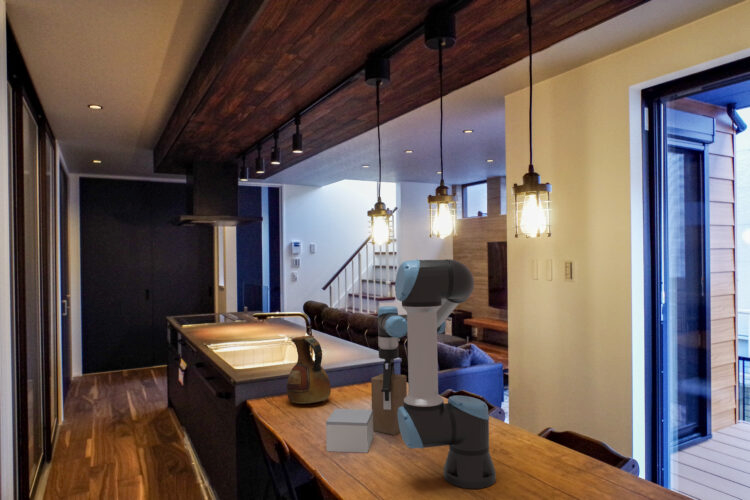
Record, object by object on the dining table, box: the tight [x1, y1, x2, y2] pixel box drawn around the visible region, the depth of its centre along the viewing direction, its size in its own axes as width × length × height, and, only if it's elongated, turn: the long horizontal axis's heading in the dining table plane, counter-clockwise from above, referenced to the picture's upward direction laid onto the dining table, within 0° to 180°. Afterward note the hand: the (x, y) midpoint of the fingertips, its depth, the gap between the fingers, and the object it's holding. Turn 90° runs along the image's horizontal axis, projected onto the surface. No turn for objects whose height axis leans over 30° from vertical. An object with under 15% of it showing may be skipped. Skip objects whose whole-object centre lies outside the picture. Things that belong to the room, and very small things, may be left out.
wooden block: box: [370, 373, 408, 436], centre depth 191 cm, size 10×10×20 cm
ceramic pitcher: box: [286, 335, 332, 404], centre depth 228 cm, size 20×20×30 cm
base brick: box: [325, 408, 374, 454], centre depth 177 cm, size 14×14×10 cm
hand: (389, 403), depth 191 cm, fingers open, 13 cm apart
